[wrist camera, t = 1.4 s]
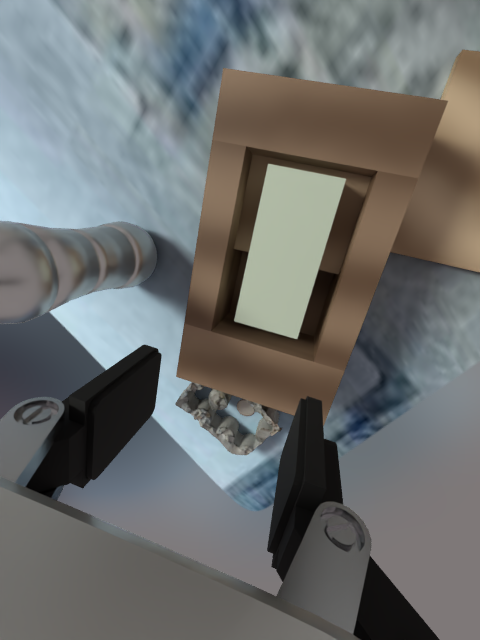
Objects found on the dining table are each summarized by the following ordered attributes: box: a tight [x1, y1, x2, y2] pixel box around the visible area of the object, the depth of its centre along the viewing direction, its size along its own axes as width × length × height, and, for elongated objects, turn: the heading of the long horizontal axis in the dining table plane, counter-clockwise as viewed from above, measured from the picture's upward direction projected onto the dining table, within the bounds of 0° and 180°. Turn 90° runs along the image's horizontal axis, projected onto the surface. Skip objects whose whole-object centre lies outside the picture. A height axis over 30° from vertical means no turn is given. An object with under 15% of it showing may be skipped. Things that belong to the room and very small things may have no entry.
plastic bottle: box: [0, 221, 157, 324], centre depth 22 cm, size 6×7×20 cm
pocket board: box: [176, 68, 448, 425], centre depth 25 cm, size 24×14×6 cm, turn 168°
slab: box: [234, 164, 346, 339], centre depth 23 cm, size 12×5×2 cm, turn 168°
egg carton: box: [176, 382, 282, 455], centre depth 33 cm, size 11×8×4 cm
